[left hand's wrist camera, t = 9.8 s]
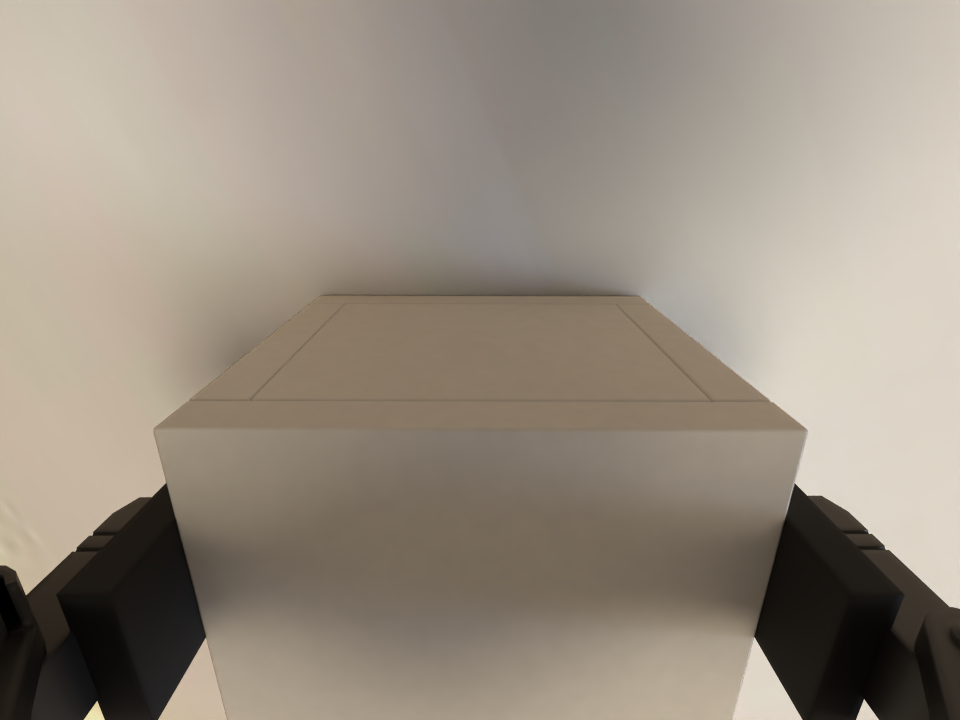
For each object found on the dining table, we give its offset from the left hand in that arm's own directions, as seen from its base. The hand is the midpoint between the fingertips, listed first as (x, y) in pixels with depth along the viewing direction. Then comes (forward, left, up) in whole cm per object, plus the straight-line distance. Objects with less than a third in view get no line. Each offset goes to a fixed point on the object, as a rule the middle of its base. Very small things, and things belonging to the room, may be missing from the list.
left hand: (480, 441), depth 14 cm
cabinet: (+6, 0, -4) cm, 7 cm away
